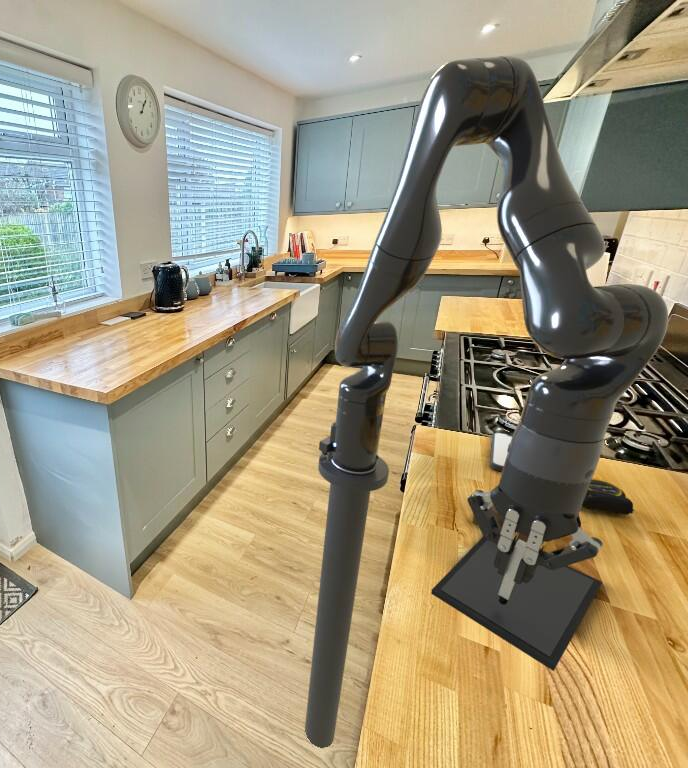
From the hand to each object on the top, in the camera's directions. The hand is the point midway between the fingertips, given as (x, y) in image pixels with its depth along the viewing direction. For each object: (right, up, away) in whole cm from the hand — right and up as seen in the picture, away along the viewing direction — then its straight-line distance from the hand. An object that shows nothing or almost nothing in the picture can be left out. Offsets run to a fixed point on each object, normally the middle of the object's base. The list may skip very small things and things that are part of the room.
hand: (510, 575), depth 54 cm
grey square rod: (0, -5, +2) cm, 5 cm away
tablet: (+5, -5, +6) cm, 9 cm away
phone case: (+31, +9, +37) cm, 49 cm away
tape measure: (+33, +2, +21) cm, 39 cm away
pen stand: (+16, +1, +19) cm, 25 cm away
